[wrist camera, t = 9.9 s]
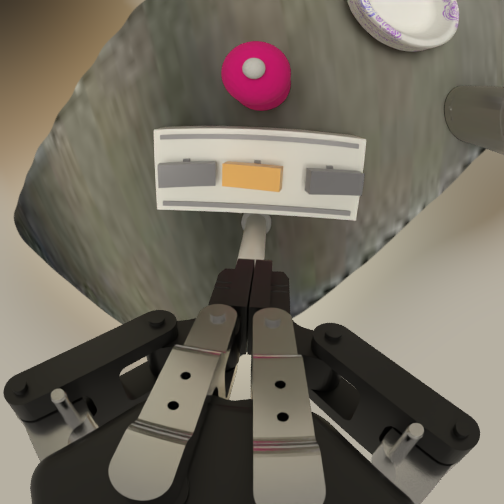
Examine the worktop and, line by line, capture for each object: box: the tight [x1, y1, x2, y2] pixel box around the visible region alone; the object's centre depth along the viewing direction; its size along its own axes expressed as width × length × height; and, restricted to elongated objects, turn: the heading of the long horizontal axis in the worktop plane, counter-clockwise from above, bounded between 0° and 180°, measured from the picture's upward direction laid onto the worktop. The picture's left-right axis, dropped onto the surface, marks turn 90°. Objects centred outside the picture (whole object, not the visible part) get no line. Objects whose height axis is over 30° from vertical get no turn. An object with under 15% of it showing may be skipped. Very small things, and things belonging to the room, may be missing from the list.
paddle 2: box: [305, 168, 365, 196], centre depth 36 cm, size 7×3×2 cm, turn 88°
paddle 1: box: [157, 161, 216, 188], centre depth 37 cm, size 7×3×2 cm, turn 88°
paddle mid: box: [222, 161, 283, 192], centre depth 37 cm, size 7×3×2 cm, turn 88°
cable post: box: [237, 213, 271, 262], centre depth 37 cm, size 4×4×22 cm
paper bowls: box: [347, 0, 459, 52], centre depth 27 cm, size 15×15×8 cm
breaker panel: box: [154, 126, 366, 220], centre depth 41 cm, size 27×11×6 cm, turn 88°
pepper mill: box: [221, 41, 291, 111], centre depth 29 cm, size 7×7×20 cm
